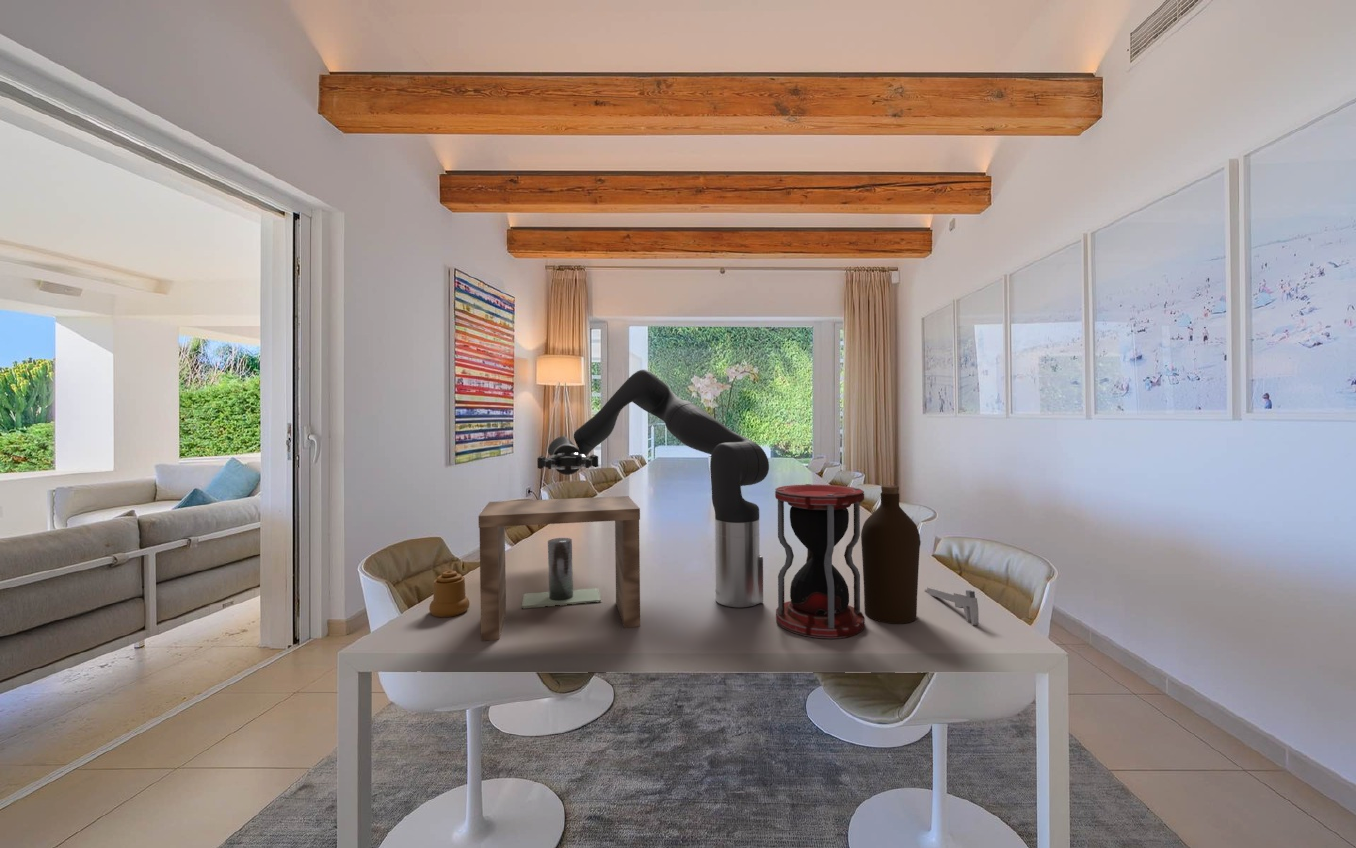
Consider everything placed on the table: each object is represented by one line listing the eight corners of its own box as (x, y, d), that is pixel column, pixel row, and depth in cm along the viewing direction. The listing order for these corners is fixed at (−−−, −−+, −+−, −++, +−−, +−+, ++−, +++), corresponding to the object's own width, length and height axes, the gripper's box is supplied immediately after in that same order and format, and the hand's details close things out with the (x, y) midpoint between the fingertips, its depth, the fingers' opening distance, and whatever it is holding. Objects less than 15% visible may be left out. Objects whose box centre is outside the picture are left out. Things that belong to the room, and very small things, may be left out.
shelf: (629, 599, 117) (628, 496, 117) (641, 628, 102) (639, 508, 101) (490, 611, 111) (489, 501, 111) (480, 643, 96) (478, 516, 95)
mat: (598, 590, 124) (598, 588, 124) (601, 602, 116) (601, 599, 116) (524, 596, 120) (523, 593, 120) (521, 608, 113) (521, 606, 113)
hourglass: (786, 640, 96) (785, 496, 95) (768, 608, 112) (767, 484, 111) (878, 638, 96) (878, 494, 96) (847, 606, 112) (846, 483, 112)
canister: (572, 591, 121) (571, 537, 121) (573, 599, 116) (572, 542, 116) (549, 594, 120) (547, 538, 120) (549, 601, 115) (547, 544, 115)
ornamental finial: (477, 607, 114) (452, 620, 107) (447, 603, 116) (420, 616, 109) (477, 568, 114) (452, 578, 107) (446, 565, 116) (420, 575, 109)
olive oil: (887, 628, 100) (886, 491, 100) (849, 609, 110) (849, 484, 110) (932, 620, 104) (932, 488, 104) (892, 603, 114) (892, 481, 114)
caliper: (978, 627, 101) (979, 593, 101) (973, 627, 101) (973, 593, 101) (929, 592, 122) (929, 563, 122) (924, 592, 122) (924, 563, 122)
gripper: (538, 444, 141) (536, 448, 125) (594, 443, 144) (599, 447, 129) (538, 474, 141) (536, 481, 126) (595, 472, 144) (600, 479, 129)
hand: (568, 464), depth 127 cm, fingers open, 8 cm apart
